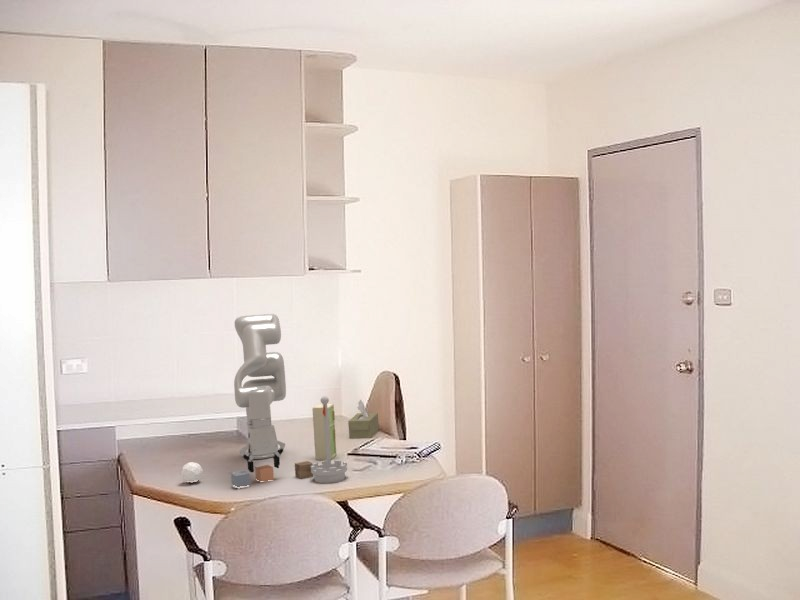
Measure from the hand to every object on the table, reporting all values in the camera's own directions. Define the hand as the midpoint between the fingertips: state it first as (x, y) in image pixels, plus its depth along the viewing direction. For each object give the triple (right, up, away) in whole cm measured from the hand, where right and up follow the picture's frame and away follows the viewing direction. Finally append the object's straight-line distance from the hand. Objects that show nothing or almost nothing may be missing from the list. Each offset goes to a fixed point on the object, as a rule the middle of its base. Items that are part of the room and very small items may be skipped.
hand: (264, 469), depth 328 cm
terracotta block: (0, -4, +1) cm, 4 cm away
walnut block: (+14, -3, +3) cm, 15 cm away
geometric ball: (-27, -6, +4) cm, 28 cm away
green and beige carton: (+20, -1, +32) cm, 38 cm away
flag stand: (+24, -3, -3) cm, 24 cm away
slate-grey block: (-7, -5, -7) cm, 11 cm away
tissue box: (+33, +1, +75) cm, 82 cm away
